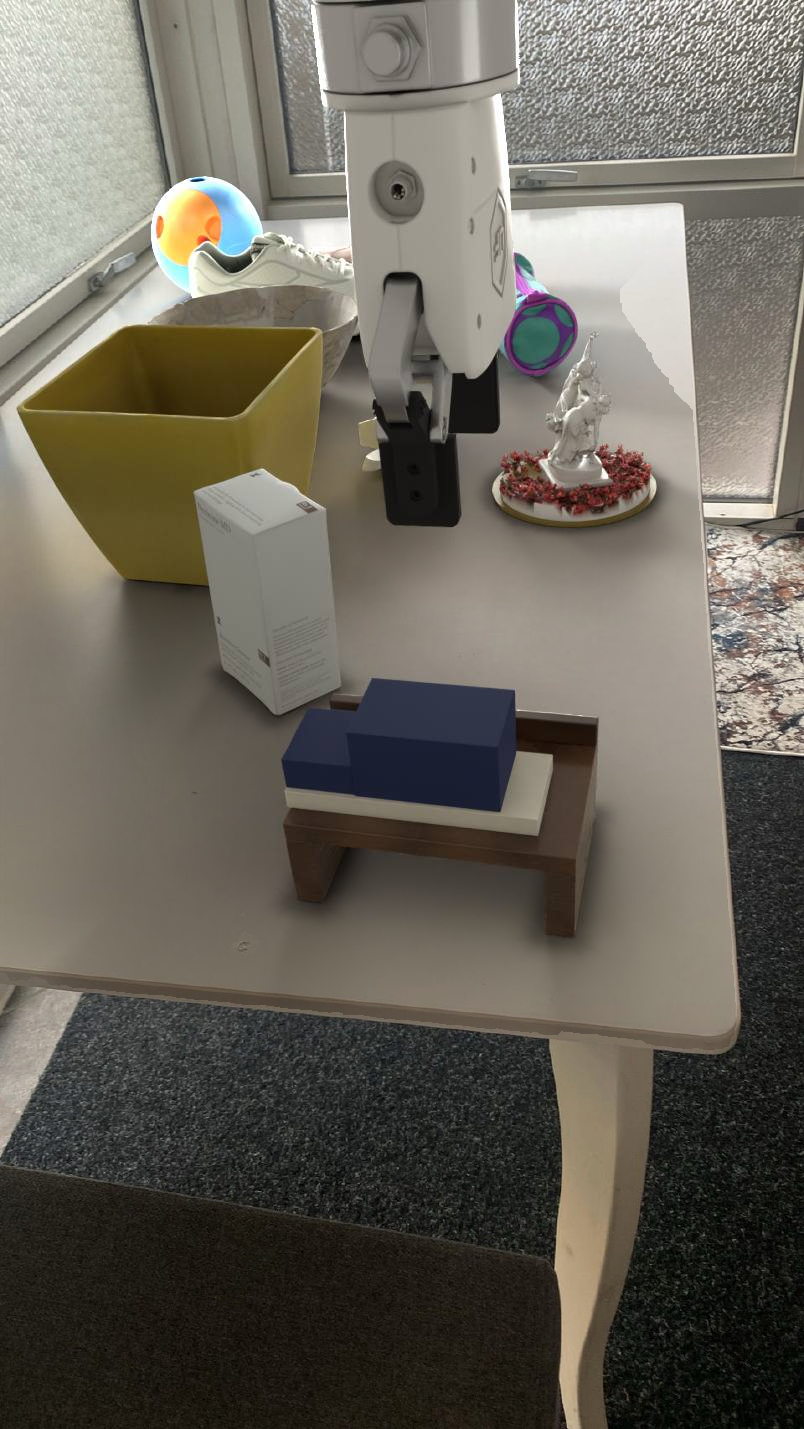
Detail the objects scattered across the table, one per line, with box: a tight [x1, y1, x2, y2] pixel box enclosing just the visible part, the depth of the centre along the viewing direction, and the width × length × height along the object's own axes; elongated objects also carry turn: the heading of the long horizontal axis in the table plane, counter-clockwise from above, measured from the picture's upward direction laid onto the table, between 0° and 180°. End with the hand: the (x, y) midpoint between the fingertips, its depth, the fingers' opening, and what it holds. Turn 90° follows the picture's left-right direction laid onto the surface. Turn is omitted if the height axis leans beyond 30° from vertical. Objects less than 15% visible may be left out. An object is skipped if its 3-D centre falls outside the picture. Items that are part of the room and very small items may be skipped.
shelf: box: [282, 693, 600, 938], centre depth 64 cm, size 16×10×8 cm, turn 76°
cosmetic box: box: [194, 469, 343, 716], centre depth 78 cm, size 8×6×15 cm
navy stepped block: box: [280, 677, 553, 836], centre depth 61 cm, size 14×5×6 cm, turn 76°
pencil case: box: [498, 251, 579, 377], centre depth 131 cm, size 21×9×10 cm, turn 10°
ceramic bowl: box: [146, 285, 358, 390], centre depth 123 cm, size 22×23×10 cm
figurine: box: [491, 331, 658, 528], centre depth 99 cm, size 15×15×14 cm
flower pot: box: [16, 323, 323, 587], centre depth 94 cm, size 19×19×17 cm
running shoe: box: [189, 232, 360, 337], centre depth 141 cm, size 11×30×12 cm, turn 89°
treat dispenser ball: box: [150, 176, 264, 294], centre depth 157 cm, size 16×15×15 cm
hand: (447, 474), depth 52 cm, fingers open, 9 cm apart
